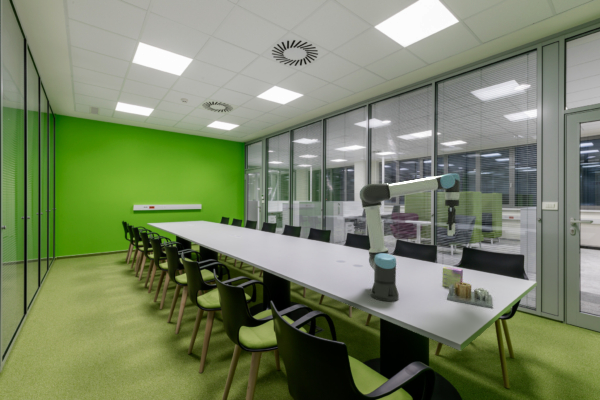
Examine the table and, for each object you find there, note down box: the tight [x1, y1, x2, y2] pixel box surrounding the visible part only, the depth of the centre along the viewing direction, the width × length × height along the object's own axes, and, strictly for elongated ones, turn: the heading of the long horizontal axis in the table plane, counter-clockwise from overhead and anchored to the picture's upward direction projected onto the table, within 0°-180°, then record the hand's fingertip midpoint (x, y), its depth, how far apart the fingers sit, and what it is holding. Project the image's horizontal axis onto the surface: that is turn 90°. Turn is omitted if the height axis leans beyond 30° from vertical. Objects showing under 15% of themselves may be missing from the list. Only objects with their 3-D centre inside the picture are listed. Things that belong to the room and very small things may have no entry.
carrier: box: [446, 284, 493, 309], centre depth 155 cm, size 21×21×6 cm
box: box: [441, 266, 464, 289], centre depth 175 cm, size 10×6×12 cm, turn 47°
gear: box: [454, 281, 472, 297], centre depth 158 cm, size 8×8×6 cm
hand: (451, 234), depth 165 cm, fingers open, 13 cm apart
